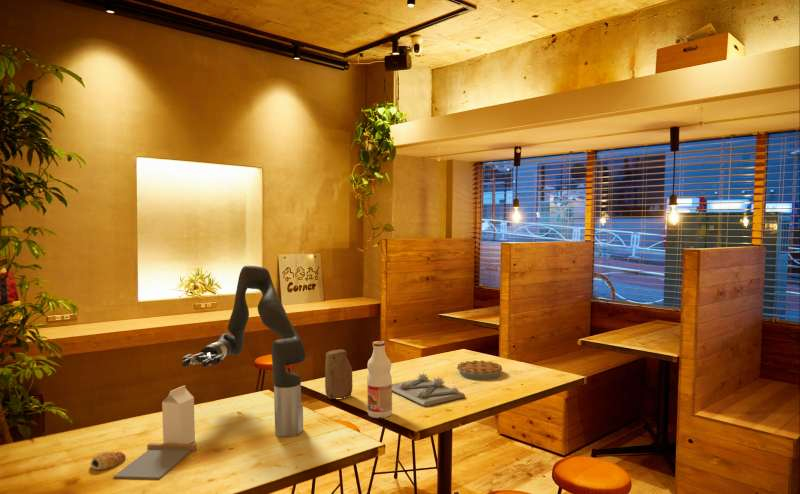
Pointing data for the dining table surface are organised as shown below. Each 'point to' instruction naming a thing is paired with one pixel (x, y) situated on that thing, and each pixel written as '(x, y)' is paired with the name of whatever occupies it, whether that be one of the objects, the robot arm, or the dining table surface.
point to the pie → (479, 369)
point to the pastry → (107, 460)
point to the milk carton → (178, 417)
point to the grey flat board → (156, 461)
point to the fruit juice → (379, 382)
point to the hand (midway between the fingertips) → (193, 364)
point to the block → (338, 374)
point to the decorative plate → (427, 391)
